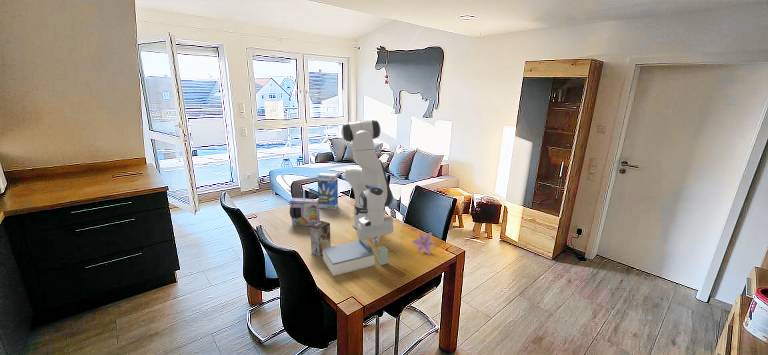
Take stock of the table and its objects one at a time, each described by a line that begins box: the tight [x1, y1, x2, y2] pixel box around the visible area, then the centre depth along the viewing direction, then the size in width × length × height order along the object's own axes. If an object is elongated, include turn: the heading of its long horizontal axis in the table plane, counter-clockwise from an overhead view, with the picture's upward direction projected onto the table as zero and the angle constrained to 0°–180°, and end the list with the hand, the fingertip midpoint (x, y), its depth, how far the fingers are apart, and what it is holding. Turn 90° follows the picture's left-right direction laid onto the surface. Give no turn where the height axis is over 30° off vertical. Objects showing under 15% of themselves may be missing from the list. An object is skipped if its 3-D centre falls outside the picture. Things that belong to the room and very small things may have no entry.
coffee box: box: [309, 220, 332, 257], centre depth 171 cm, size 9×6×16 cm
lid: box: [323, 238, 375, 265], centre depth 160 cm, size 22×16×3 cm
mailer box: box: [322, 251, 376, 277], centre depth 161 cm, size 22×16×6 cm
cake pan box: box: [289, 197, 321, 227], centre depth 203 cm, size 19×5×18 cm, turn 80°
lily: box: [411, 232, 437, 255], centre depth 176 cm, size 12×12×10 cm
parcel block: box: [376, 245, 389, 266], centre depth 162 cm, size 4×4×8 cm
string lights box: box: [317, 172, 339, 210], centre depth 234 cm, size 13×8×26 cm, turn 81°
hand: (375, 243), depth 167 cm, fingers closed
